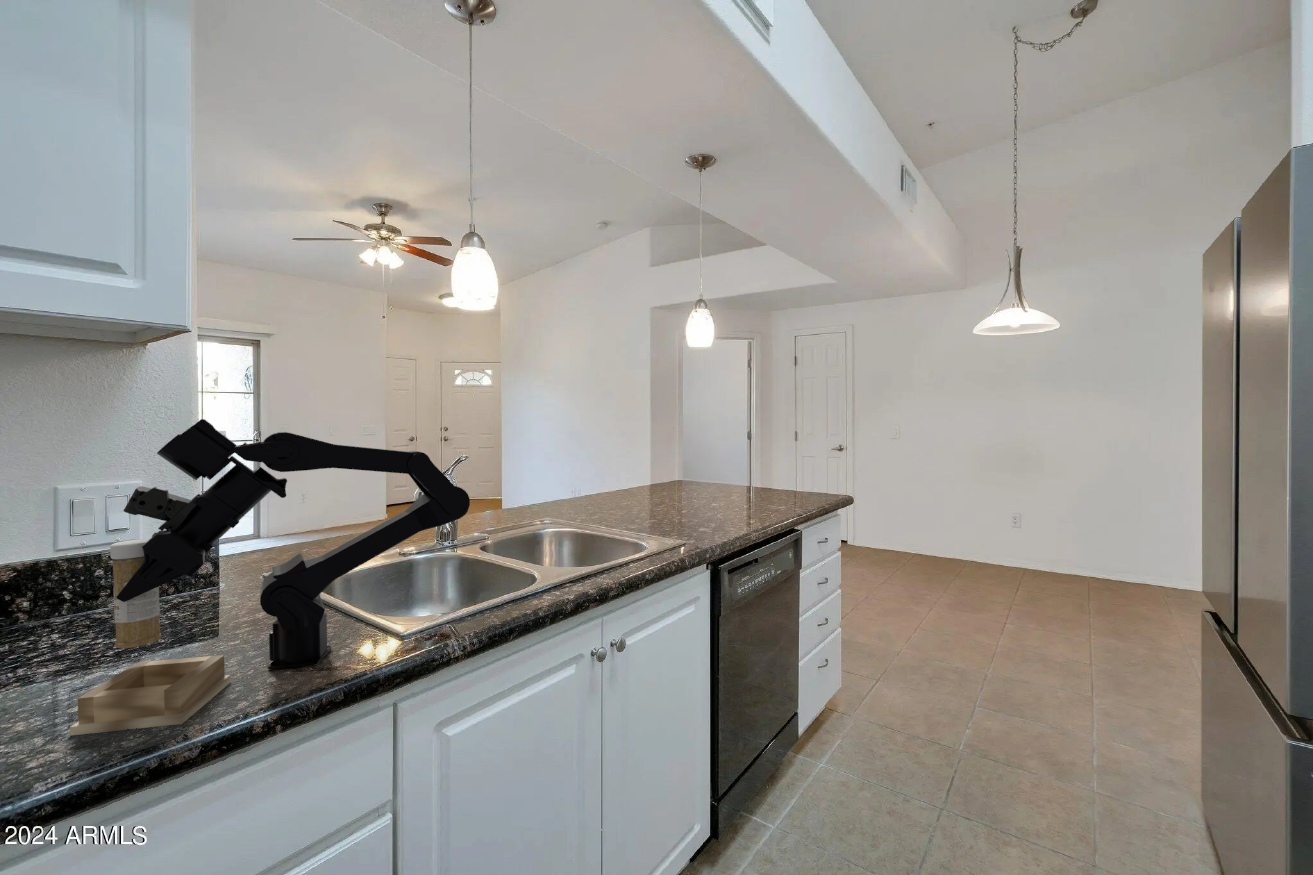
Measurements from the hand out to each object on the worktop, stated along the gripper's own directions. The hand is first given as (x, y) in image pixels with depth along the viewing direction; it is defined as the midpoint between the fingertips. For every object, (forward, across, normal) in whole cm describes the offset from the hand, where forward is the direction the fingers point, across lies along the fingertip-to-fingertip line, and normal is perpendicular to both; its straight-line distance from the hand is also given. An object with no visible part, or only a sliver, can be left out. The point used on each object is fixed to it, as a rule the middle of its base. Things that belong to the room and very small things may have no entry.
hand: (123, 595), depth 72 cm
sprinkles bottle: (+4, 0, +6) cm, 7 cm away
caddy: (+7, +6, +12) cm, 15 cm away
